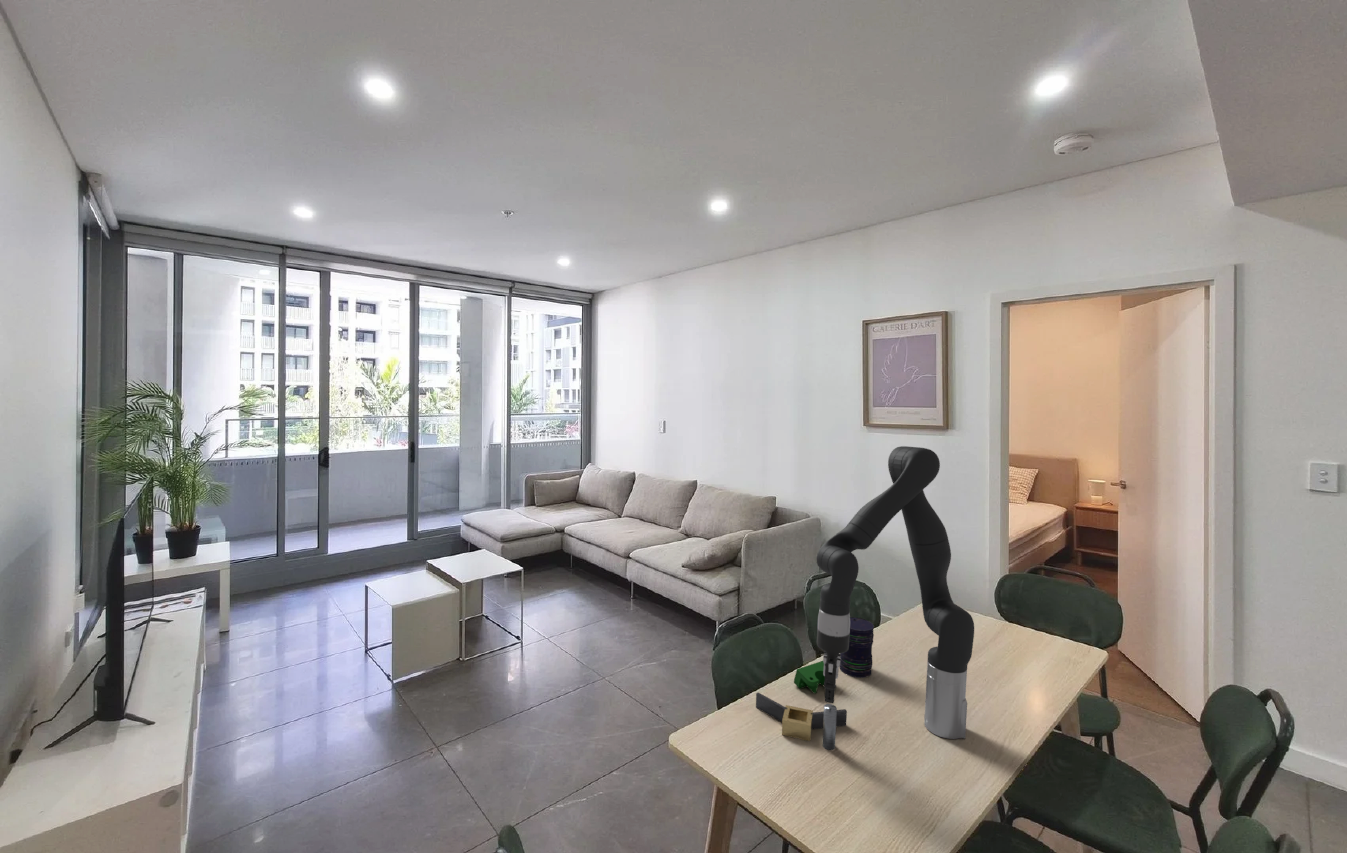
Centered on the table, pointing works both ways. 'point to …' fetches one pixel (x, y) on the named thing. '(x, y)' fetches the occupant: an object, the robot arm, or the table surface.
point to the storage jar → (858, 649)
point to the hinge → (796, 717)
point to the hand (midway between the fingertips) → (830, 692)
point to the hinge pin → (829, 726)
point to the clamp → (810, 676)
